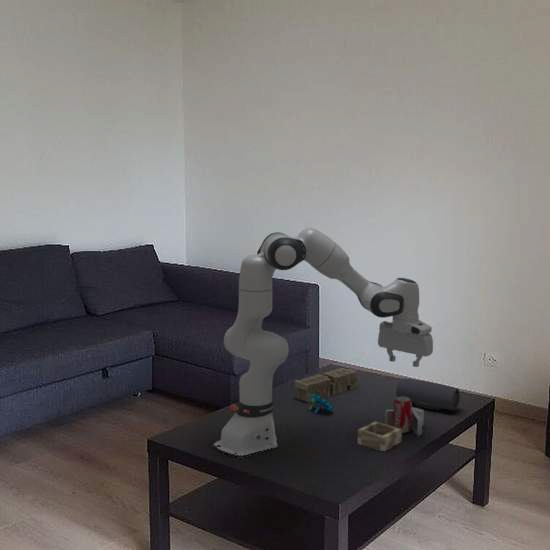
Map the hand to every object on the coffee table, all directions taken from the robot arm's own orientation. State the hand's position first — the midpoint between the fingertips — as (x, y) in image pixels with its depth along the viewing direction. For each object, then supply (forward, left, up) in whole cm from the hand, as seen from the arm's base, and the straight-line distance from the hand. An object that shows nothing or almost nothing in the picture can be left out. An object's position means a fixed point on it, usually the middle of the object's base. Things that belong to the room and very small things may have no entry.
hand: (404, 363), depth 252 cm
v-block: (+5, 0, -25) cm, 25 cm away
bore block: (-14, 0, -25) cm, 28 cm away
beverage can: (0, 0, -25) cm, 25 cm away
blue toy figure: (-3, +34, -25) cm, 42 cm away
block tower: (+15, +45, -25) cm, 53 cm away
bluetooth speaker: (+28, +6, -25) cm, 38 cm away
